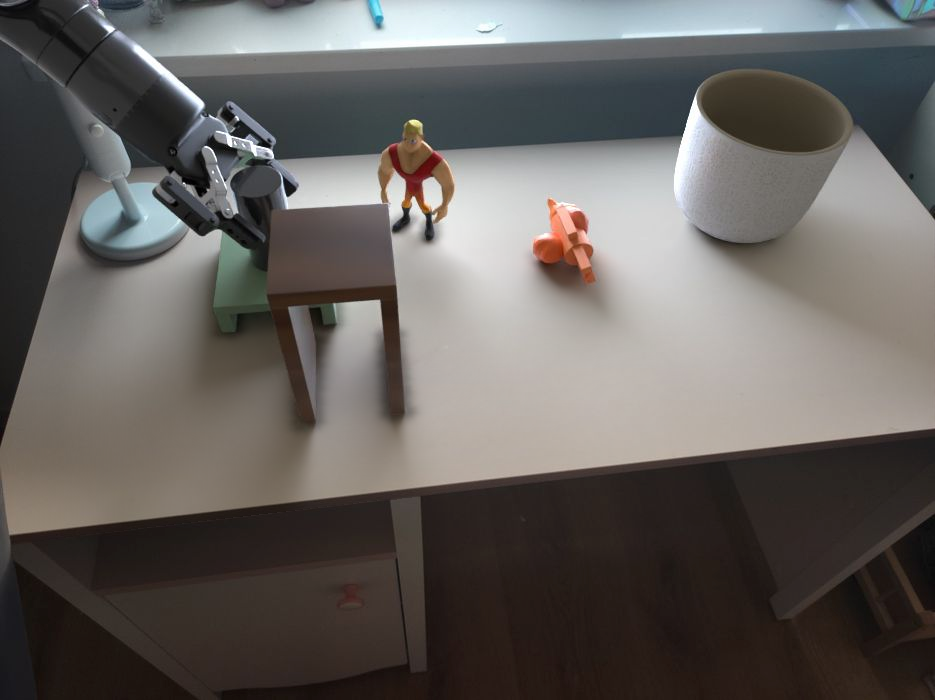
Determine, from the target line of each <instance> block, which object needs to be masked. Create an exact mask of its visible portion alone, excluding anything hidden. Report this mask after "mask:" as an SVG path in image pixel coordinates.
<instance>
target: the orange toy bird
mask: <svg viewBox="0 0 935 700" xmlns="http://www.w3.org/2000/svg"><path fill="white" fill-rule="evenodd" d="M547 206H548V210H549V213H548V217H549V222H550V223H549V226H550V229H551V231H552V232H544V233H543V234H542V235H536V236H535V237H534V238H533V242H532V253H533V254H534V256H535V257H536V258H537V259H539V260H541V261H542V262H543V263H545V264H553V263H557V262H560V261H561V260H562V259H563V258H564V261H565V263H566V264H568V265H570V266H577V267H578V269H579V272H580V273H581V276H582V278H583V280H584V283H585V284H586V285H589V284H592V283H594V282H596V281H597V280H596V276H595V274H594V271H593V266H592V264H591V262H590V259H591V258H592V257H593V255H594V247H593V245H592V243H591V241H590V239H589V236H588V232H589V218H588V215H587V214H586V213H585V212H584V211H583V210H581V209H580V208H579V207H578V206H577V205H576V204H574V203H565V202H557V201H556V200H555V199H553V198H552V197H550V198H548V199H547Z"/></svg>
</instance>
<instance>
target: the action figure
mask: <svg viewBox="0 0 935 700" xmlns="http://www.w3.org/2000/svg"><path fill="white" fill-rule="evenodd" d="M423 126H424V125H423V123H422V122H420V121H419V120H418V119H417V120H416V119H410V120H408V121H406V123H405V124H404V125H403V133H402V140H401V141H400V142H397V143H393V144H392V143H391V144H390V145H389V146H388V147H386V148H385V149H384V150H383V151H382V152H381V157H380V164H379V166H378V169H377V179H378V183H379V186H380V189H381V190H380V200H381V203H388V204H389V208H390V207H391V206H390V205H391V202H390V201H389V198H388V189H387V188H388V187H389V184H390V182H391V181H392V179H393V176H394V174H395V172H396V173H397V175H399V177H401V178H402V179H403V180H404V182H405V191H404V199H403V200H402V201H401V205H400V206H401V210H402V212H403V213H402V216H401V217H400V218H399V219H398V220H396V222H394V224H393V225H392V230H394V231H398V230H400V229H401V228H402V227H403V226H404V224H405V223H408V222H410V221H411V216H410V212H411V209H412V206H413V202H412V200H413V197H414V199H415V200H416V202H417V203H416V204H417V205H418V208H419V209H420V210H421V213H422V214H423V215H424V217H425V232H424V236H425V238H426V239H427V240H431V239H433V238H434V236H435V226H434V224H438V223H439V222H440V221H441V220H443V219H444V218H445V217H447V215H448V213H449V210H448V209H449V208H448V205H449V204H450V203H451V201H452V199H453V197H454V194H455V190H456V183H455V180H454V176H453V172H452V171H451V170H452V169H451V168H450V165H449V163H448V162H447V160H445V159H444V157H443V156H442V155H440V154H439V153H438V152H436V151H435V150H434V149H433V148H432V147H431V146H430V145H428V143H427V142H425V141H424V139H425V134H424V133H423ZM430 178H434V179H435V180H436V182H437V183H438V184H439V185H440V187H441V189H440V190H441V197H442V199H441V200H442V202H441V204H440V205H438V206H436V208H434V209H433V210H432V207H431V206H430V205H429V204H428V202H426V201H425V194H424V184H423V182H424V181H426V180H427V179H430ZM435 215H436V217H435V219H433V216H435Z"/></svg>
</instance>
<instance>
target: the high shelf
mask: <svg viewBox="0 0 935 700" xmlns="http://www.w3.org/2000/svg"><path fill="white" fill-rule="evenodd" d="M389 206H390V205H389V204H388V203H382V202H381V203H365V204H350V205H333V206H317V207H300V208H298V207H297V208H289V209H282V210H271V221H270V238H269V256H268V273H267V290H266V296H267V299H268V303H269V307H270V310H271V311H270V314H271V318H272V321H273V324H274V328H275V332H276V336H277V339H278V342H279V346H280V350H281V354H282V357H283V361H284V365H285V368H286V372H287V375H288V380H289V383H290V387H291V390H292V395H293V397H294V401H295V405H296V408H297V412H298V415H299V419H300V423H301V424H304V423H305V424H306V423H316V422H317V341H316V337H315V336H316V335H315V332H314V327H313V323H312V318H311V313H310V308H308V305H319V304H332V303H336V304H343V303H357V302H359V303H360V302H369V301H370V302H373V301H379V304H380V313H381V314H380V315H381V325H382V335H383V336H382V337H383V345H384V346H383V347H384V356H385V357H384V358H385V368H386V377H387V380H386V381H387V389H388V390H387V391H388V400H389V411H390V415H392V416H393V415H401V414H406V408H405V407H406V406H405V405H406V404H405V391H404V374H403V361H402V359H403V358H402V347H401V345H402V344H401V343H402V342H401V329H400V315H399V314H400V313H399V312H400V311H399V299H398V296H399V295H398V286H397V285H398V284H397V283H398V282H397V274H396V264H395V263H396V262H395V253H394V244H393V233H392V225H391V213H390V207H389Z"/></svg>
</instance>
